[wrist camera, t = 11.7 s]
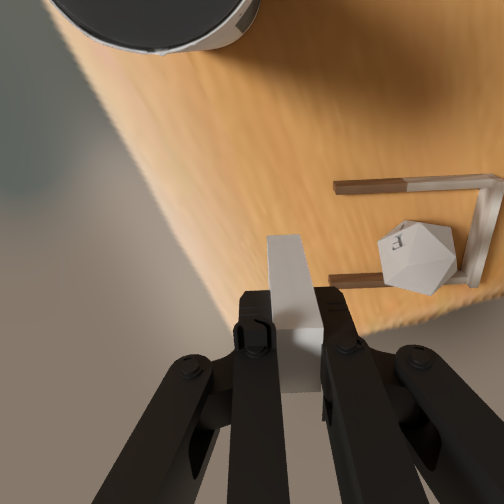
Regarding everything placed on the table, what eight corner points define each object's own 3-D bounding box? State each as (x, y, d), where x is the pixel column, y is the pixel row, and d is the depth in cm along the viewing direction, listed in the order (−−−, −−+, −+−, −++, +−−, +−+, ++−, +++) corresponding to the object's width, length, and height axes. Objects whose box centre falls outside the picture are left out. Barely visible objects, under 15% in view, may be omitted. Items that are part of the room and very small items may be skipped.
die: (442, 201, 47) (424, 212, 39) (477, 266, 46) (466, 290, 38) (380, 230, 52) (353, 245, 44) (411, 289, 52) (389, 315, 44)
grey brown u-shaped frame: (333, 181, 45) (338, 189, 42) (491, 173, 45) (507, 181, 42) (328, 281, 52) (332, 293, 49) (466, 275, 51) (478, 287, 49)
